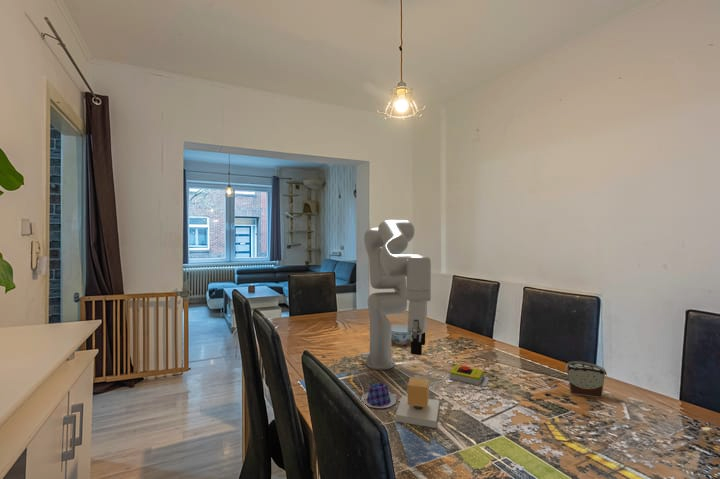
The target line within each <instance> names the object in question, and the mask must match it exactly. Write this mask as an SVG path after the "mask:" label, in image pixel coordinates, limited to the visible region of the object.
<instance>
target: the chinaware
mask: <svg viewBox="0 0 720 479" xmlns="http://www.w3.org/2000/svg"><path fill="white" fill-rule="evenodd" d="M411 337H412V331H411V332H410V333H408V324H391V340H393V341H394V343H395V345H396V344H397V345H406V344H408V342H409V341H411Z"/></svg>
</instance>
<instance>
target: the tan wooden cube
mask: <svg viewBox="0 0 720 479" xmlns="http://www.w3.org/2000/svg"><path fill="white" fill-rule="evenodd" d="M407 396H408V405H413V406H420V407H427V406H428V401H429V399H430V380H429V379H426V378H418V377H409V379H408V383H407Z"/></svg>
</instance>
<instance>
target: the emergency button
mask: <svg viewBox="0 0 720 479" xmlns="http://www.w3.org/2000/svg"><path fill="white" fill-rule="evenodd" d="M446 379H447V380H453V381H456V382H461V383H466V384H471V385H476V386H479V387H480V386H481V387H486V386H487V384H488V382H489V380H490V377H488V376H485V375H484V370H483V369H479V368H475V367H470V366H466V365H458V364H455V365H454V366H453V367H452V368H451V370H450V371H449V373H448V374H447V375H446Z"/></svg>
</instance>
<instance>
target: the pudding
mask: <svg viewBox="0 0 720 479" xmlns="http://www.w3.org/2000/svg"><path fill="white" fill-rule="evenodd" d="M362 398H366V399H367V400H366V401H367V402H365V401H364V399H362ZM360 400H361V402H362V401H363V402H364V403H363V402H362V403H363V405H365V404H366V406H367V407H370V408H375V409H384V408H389V407H392V406H394V405H395V404H396V402H397V397H396V396H395V395H394V394H392V393H390V392H389V387H388V386H387V385H386V384H385V383H383V382H382V383H381V382H374V383H372V384H371V385H370V387H369V389H368V392H366V393H364V394H362V396H361V398H360ZM367 403H368V404H367Z"/></svg>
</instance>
